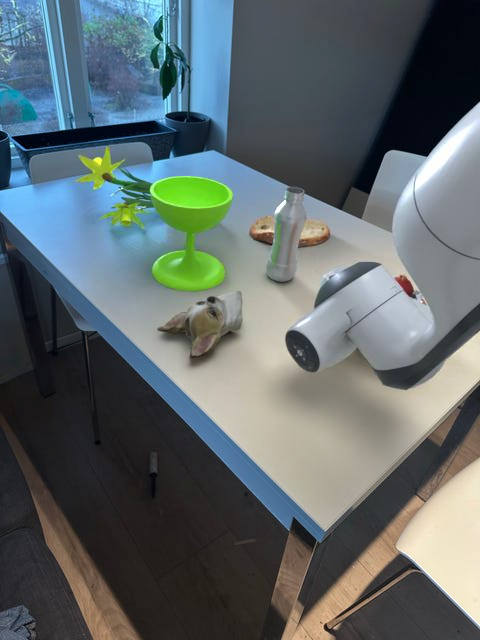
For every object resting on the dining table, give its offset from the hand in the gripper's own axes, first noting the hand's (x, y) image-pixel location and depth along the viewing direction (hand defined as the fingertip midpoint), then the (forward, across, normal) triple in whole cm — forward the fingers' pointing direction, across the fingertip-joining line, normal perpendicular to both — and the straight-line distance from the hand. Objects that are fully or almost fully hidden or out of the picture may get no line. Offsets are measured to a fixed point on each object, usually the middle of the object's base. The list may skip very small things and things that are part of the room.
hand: (401, 286), depth 82 cm
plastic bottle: (-3, +25, +10) cm, 27 cm away
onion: (-1, 0, +5) cm, 5 cm away
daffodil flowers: (-9, +64, +10) cm, 66 cm away
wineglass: (-18, +39, +10) cm, 44 cm away
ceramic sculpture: (-30, +19, +10) cm, 37 cm away
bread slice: (+15, +38, +10) cm, 42 cm away
